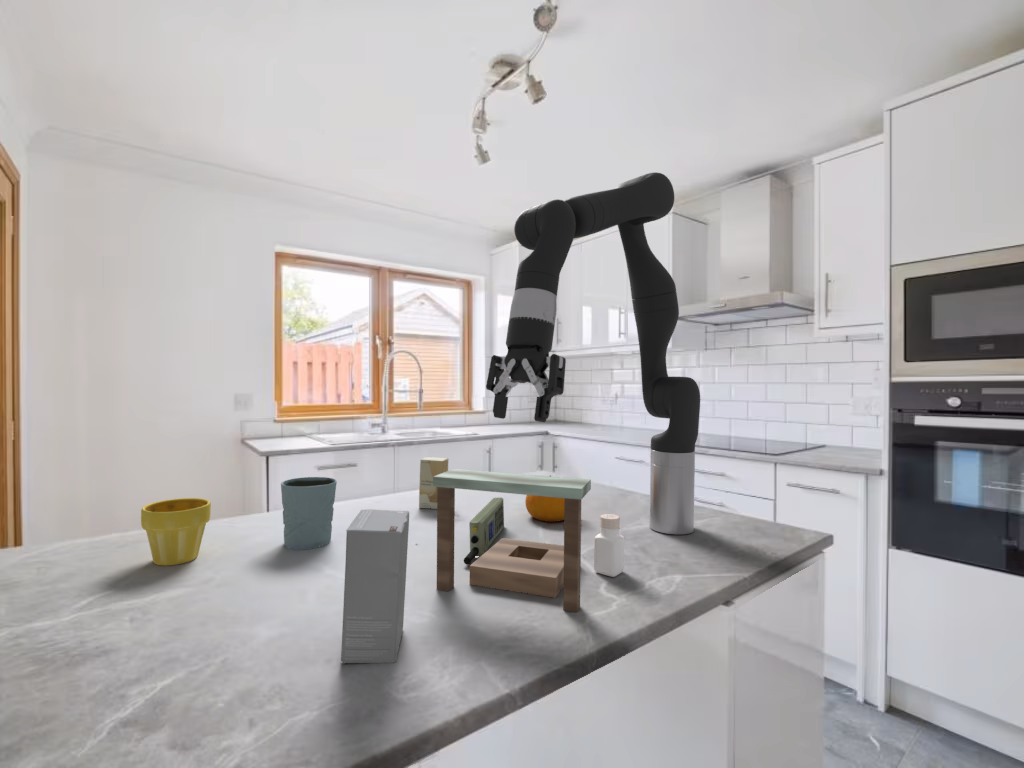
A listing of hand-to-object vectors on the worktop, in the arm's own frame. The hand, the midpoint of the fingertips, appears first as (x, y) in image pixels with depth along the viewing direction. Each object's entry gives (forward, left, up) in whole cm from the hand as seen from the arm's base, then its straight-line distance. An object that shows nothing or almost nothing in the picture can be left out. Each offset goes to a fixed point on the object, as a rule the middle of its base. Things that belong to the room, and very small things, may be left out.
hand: (518, 419), depth 82 cm
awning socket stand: (-2, 0, -26) cm, 26 cm away
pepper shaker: (-9, +13, -26) cm, 31 cm away
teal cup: (-4, -45, -26) cm, 52 cm away
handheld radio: (-15, -12, -27) cm, 33 cm away
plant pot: (+12, -60, -26) cm, 66 cm away
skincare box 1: (+25, -10, -26) cm, 37 cm away
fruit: (-38, -5, -26) cm, 47 cm away
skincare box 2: (-37, -35, -26) cm, 57 cm away
